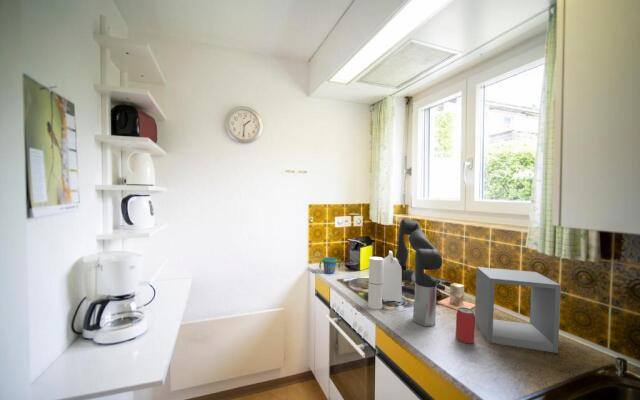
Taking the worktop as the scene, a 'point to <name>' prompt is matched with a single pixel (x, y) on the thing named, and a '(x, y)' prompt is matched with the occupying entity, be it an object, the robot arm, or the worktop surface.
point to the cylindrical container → (375, 282)
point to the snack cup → (329, 264)
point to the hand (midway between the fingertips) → (448, 286)
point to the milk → (392, 278)
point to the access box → (542, 310)
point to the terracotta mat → (447, 303)
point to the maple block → (457, 294)
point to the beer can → (465, 325)
